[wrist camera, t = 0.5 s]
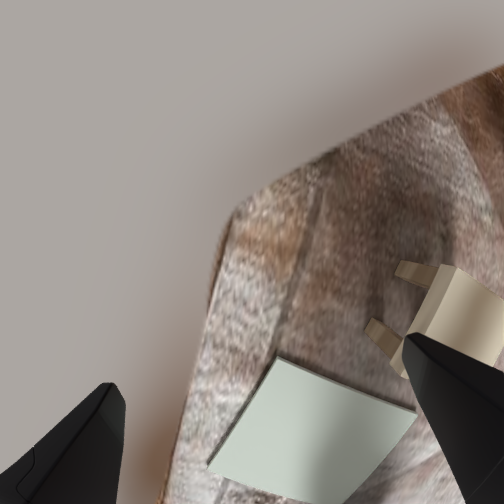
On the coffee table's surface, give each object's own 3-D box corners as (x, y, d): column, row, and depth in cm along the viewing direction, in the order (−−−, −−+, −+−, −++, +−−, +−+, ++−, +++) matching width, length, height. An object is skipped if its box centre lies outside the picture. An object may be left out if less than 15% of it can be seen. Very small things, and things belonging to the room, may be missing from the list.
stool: (457, 291, 22) (519, 312, 14) (420, 361, 22) (470, 404, 14) (399, 256, 22) (457, 266, 14) (360, 332, 22) (400, 376, 14)
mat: (415, 411, 23) (418, 414, 22) (336, 505, 24) (336, 508, 23) (277, 355, 23) (277, 358, 22) (207, 465, 24) (206, 469, 23)
